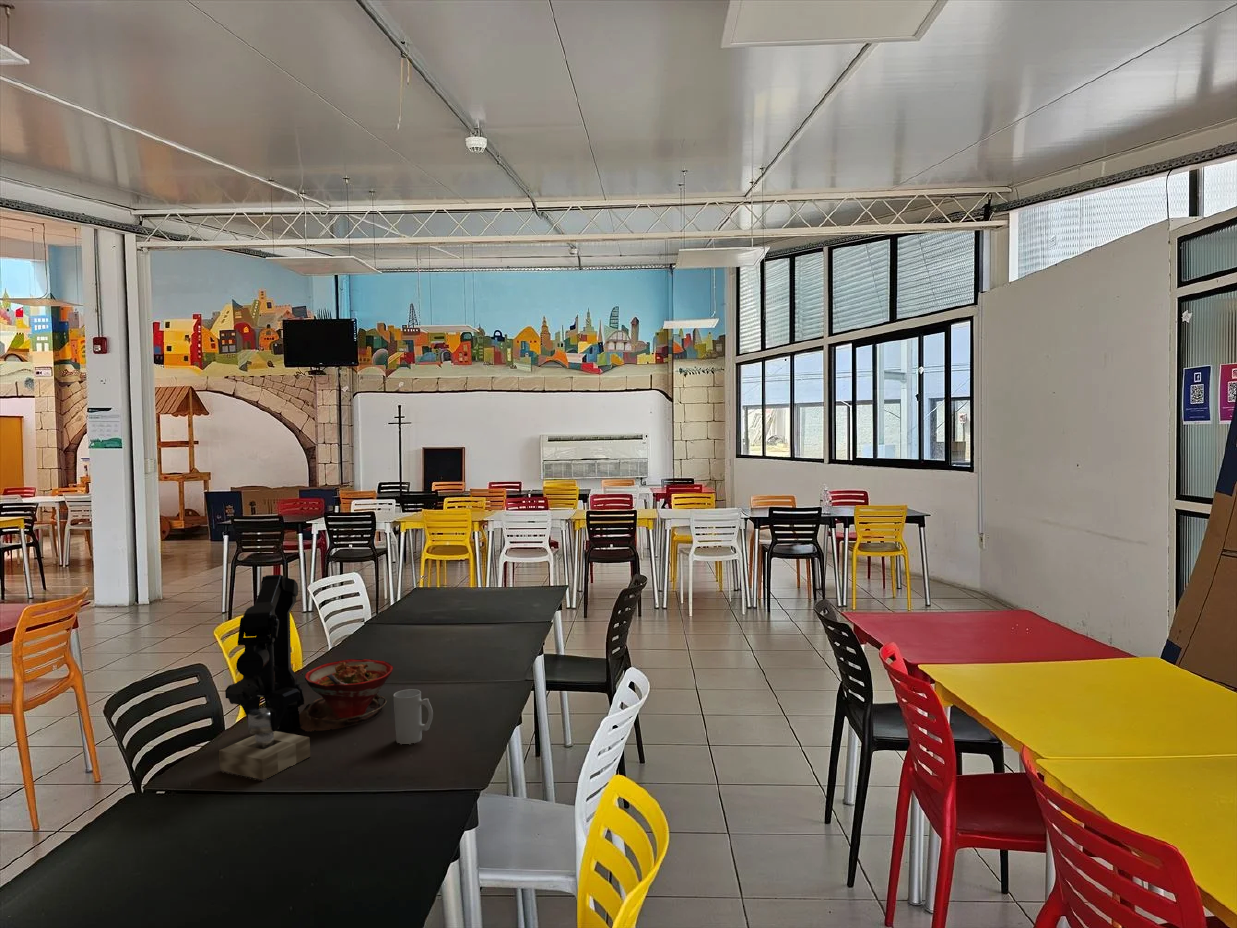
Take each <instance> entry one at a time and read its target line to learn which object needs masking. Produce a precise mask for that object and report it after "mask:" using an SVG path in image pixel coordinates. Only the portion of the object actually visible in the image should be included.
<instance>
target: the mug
mask: <svg viewBox="0 0 1237 928" xmlns="http://www.w3.org/2000/svg"><path fill="white" fill-rule="evenodd" d="M422 706H425V708H426V709H427V711H428V717H427V722H426V723H423V722H422V721H423V720H422ZM393 711H394V725H395V727H394V728H395V739H396V740H395V742H396V743H397V744H398V743H400V744H399V745H402V744H409V745H412V744H411V743H414V744H416V743H419V742H420V741H422V739H423V738H422V736H423V734H422V733H423V731H426V732H427V731H429V729H430V727H431V724H432V722H433V718H434V711H433V707H432V705H431V702H430V700H429V698H423V699H422V691H421V690H419V689H415V688H414V689H411V688H409V689H408V688H407V689H403V690H399V691H396V692H395V693H393Z"/></svg>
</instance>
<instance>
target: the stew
mask: <svg viewBox="0 0 1237 928" xmlns="http://www.w3.org/2000/svg"><path fill="white" fill-rule="evenodd" d="M393 669H394V666H393V665H392V664H391V663H390V662H387V661H385V660H379V659H378V660H376V659H372V658H366V659H362V658H361V659H356V658H347V659H342V660H337V661H332V662H328V663H323V664H321V665H317V667H314V668H312V669H310V670H309V671H307V672H306V673H305V674H304V680H305V682H306V683H307V685H308V687H309V688H310V689H311V690H312V691H313V692H314V693H316V694H318V696H319V695H320V696H321V697H320V698H317V699H315V700H313V702H312V703H308V704H306V706H305V708H303V709H302V711H301V712H299V720H300V724H301V725H302V724H303V725H302V726H300V729H302V730H303V731H305V732H306V731H310V732H314V730H316V731H329V730H330V729H332V730H337V729H342V728H346V727H348V726H353V725H357V724H361V723H364V722H367V721H369V720H372V719H373V718H376V717H377V716H378V715H380V713H381V712H382V708H384V707H385V706H386V705H387V703H388V701H387V698H386V697H385V696H383V695H380V694H379V692H380V690H381V689H382V688H383V687H384V685H385V683H386V681H387V680H388V679H389V677H390V676H391V674H392V673H393ZM381 699H382V700H383V702H382V704H381V702H380V701H379V700H381ZM368 708H371V709H374V710H372V711H368ZM367 711H368V712H367ZM356 718H358V719H356ZM351 719H352V720H351ZM353 719H354V720H353ZM312 730H313V731H312Z"/></svg>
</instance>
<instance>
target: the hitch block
mask: <svg viewBox="0 0 1237 928" xmlns="http://www.w3.org/2000/svg"><path fill="white" fill-rule="evenodd" d="M273 732H274V745H273V746H271V747H269V748H266V749H264V750H263V749H258V748H256V742H255V734H253V735H252V736H249V737H247V738H244V739H243V740H240V741H238V742H235V743H233V744H230V745H229V746H226V747H224V748H221V749H219V750H218V762H219V770H220V769H221V770H224V771H228V772H232V773H237V774H240V775H245V776H250V777H253V778H259V779H266V778H269V777H271V776H273V775H275V774H277V773H278V772H280V771H282V770H284V769H286V768H287V767H289V766H293V765H295V764H296V763H298V762H300V761H302V760H304V759H306V758H308V757H310V758H311V741H310V737H309V736H304V735H298V734H295V733H290V732H289V733H284V732H278V731H273ZM295 766H296V765H295ZM293 767H294V766H293ZM277 775H278V774H277ZM275 776H276V775H275ZM273 777H274V776H273ZM271 778H272V777H271ZM269 779H270V778H269ZM266 780H267V779H266Z"/></svg>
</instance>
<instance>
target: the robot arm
mask: <svg viewBox="0 0 1237 928" xmlns="http://www.w3.org/2000/svg"><path fill="white" fill-rule="evenodd" d="M298 595H299V585H298V582H297V581H296V580H295V579H294V578H290V577H287V576H285V575H282V574H270V575H269V574H268V575H265V576H262V577H261V581H260V590H259V592H258V594H257V598H256V600H255V603H254V605H251V606H250V607H248V608H246V610H245V612H244V613H243V615H242V616H241V618H240V621H239V627H238V636H237V645H236V646H244V651H243V652H242V653H241V654H240V655H239V657H238V658H237V660H236V662H235V663H236V664H235V665H236V670H237V672H239V674H240V675H242V679H240V680H238V681H237V682H235V683H233V684H229V685H228V686H226V688H225V690H224V693H225V699H228V701H229V703H230V704H231V705H238V706H241V708H242V710H243V711H244V714H245V716H246V719H248V714H249V713H250V712H252V711H254V710H257V709H260V704H261V698H264V701H265V703H264V704H265V706H264V708H267V709H268V710H269V711H270V717H271V726H272V731H278V732H284V733H288V732H289V733H290V732H291V733H292V732H293V731H295V730H297V729H299V728H300V726H302V725H303V724H302V725H301V724H300V720H299V714H300V710H299V708H301V706H303V705H305V695H304V692H303V688H302V687H301V684H300V683H299V679H298V678H299V677H298V675H297V674H296V672H295V671H294V670H293V668H292V656H291V655H292V649H291V648H292V647H291V644H292V643H291V641H292V640H291V611H292V609H293V607H294V606H295V604H296V602H297V596H298ZM278 727H279V728H278ZM300 729H301V728H300Z"/></svg>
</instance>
